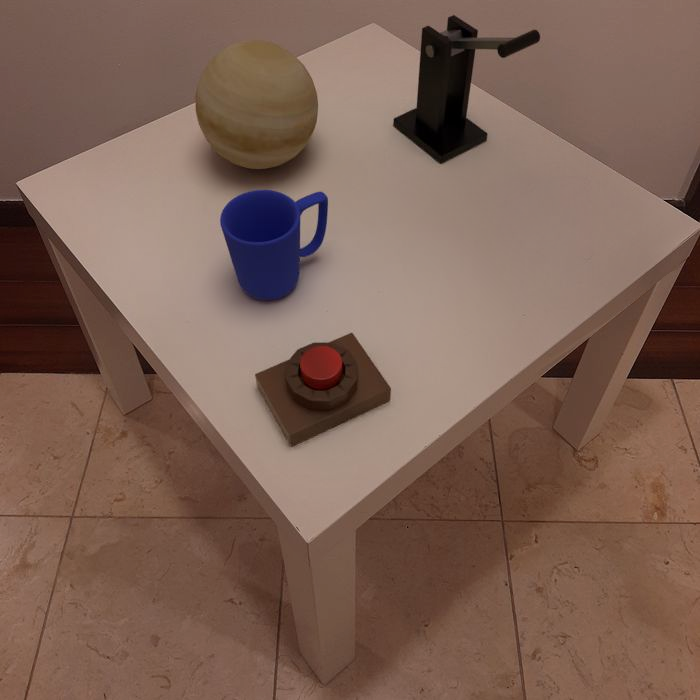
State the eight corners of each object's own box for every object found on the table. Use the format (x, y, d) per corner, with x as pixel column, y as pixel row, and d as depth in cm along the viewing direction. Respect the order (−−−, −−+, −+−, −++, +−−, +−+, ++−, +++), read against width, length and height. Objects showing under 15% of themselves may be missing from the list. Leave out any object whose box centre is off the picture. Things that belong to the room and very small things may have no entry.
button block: (352, 344, 78) (351, 320, 75) (390, 400, 74) (391, 377, 71) (257, 386, 75) (252, 363, 72) (291, 447, 71) (288, 425, 68)
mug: (348, 274, 84) (347, 207, 76) (256, 320, 80) (244, 255, 72) (309, 232, 89) (304, 165, 81) (220, 274, 84) (205, 208, 77)
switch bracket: (486, 140, 99) (504, 36, 87) (440, 164, 96) (451, 59, 84) (438, 104, 104) (448, 1, 92) (393, 125, 101) (397, 21, 89)
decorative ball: (190, 140, 99) (167, 35, 87) (292, 108, 103) (283, 4, 91) (231, 208, 91) (211, 102, 79) (340, 171, 95) (337, 65, 83)
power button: (330, 350, 73) (330, 339, 72) (349, 379, 71) (349, 368, 70) (294, 366, 72) (292, 355, 71) (312, 396, 70) (311, 386, 69)
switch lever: (541, 47, 81) (539, 24, 80) (508, 63, 79) (504, 39, 78) (458, 46, 92) (455, 26, 91) (427, 60, 90) (423, 39, 89)
